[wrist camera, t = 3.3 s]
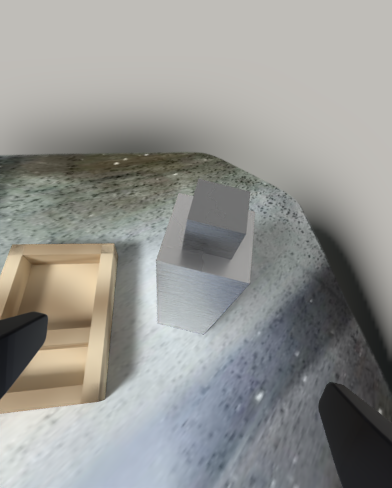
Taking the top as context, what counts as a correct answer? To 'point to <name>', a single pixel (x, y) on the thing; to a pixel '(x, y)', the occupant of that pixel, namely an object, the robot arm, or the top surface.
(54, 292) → the holder
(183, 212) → the square bit
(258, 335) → the top surface
